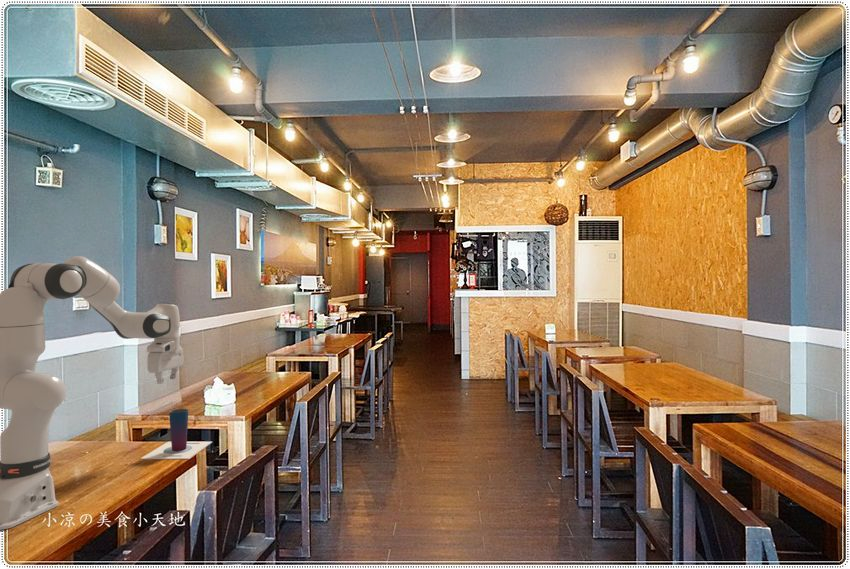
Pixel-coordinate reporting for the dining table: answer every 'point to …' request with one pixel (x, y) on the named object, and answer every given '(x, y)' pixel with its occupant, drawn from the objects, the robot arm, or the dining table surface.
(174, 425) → the cup
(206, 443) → the paper sheet
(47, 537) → the dining table surface
